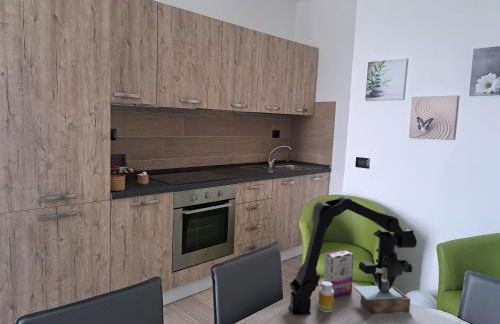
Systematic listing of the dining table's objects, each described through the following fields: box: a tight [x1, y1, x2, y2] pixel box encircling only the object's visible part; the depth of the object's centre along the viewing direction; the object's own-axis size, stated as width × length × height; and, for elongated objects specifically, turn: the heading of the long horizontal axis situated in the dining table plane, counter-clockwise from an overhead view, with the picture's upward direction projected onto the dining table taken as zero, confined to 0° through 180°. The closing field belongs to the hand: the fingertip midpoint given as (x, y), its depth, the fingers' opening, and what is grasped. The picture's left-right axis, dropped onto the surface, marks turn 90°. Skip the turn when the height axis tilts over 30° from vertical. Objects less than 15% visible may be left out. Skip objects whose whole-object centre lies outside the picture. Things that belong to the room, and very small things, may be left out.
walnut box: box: [360, 286, 411, 315], centre depth 131 cm, size 14×10×5 cm
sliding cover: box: [353, 278, 404, 300], centre depth 131 cm, size 14×10×5 cm
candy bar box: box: [323, 250, 354, 298], centre depth 142 cm, size 11×5×16 cm, turn 117°
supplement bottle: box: [317, 280, 335, 313], centre depth 128 cm, size 5×5×10 cm
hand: (384, 289), depth 131 cm, fingers closed on sliding cover, 3 cm apart
